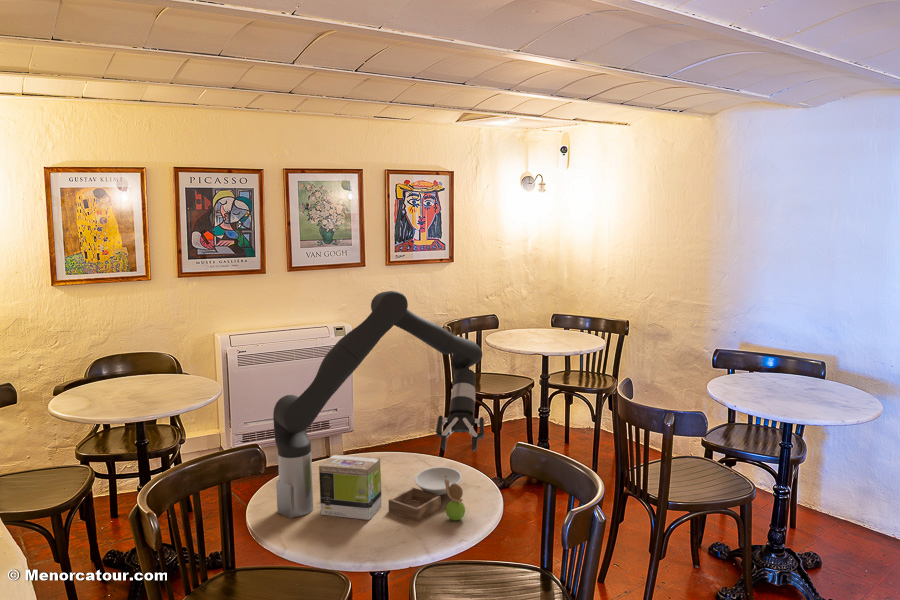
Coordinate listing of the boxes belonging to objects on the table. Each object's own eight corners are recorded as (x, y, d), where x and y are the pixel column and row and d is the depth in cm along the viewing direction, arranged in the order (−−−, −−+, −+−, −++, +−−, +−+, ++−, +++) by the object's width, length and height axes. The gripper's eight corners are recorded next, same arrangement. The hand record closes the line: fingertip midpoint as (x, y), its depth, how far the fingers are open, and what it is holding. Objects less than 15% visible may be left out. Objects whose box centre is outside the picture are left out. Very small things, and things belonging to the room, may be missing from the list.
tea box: (382, 506, 184) (381, 457, 183) (369, 521, 175) (367, 470, 173) (335, 500, 188) (333, 452, 187) (319, 515, 179) (317, 465, 177)
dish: (457, 507, 183) (456, 491, 182) (408, 504, 185) (408, 487, 185) (466, 483, 200) (466, 468, 199) (422, 480, 203) (421, 465, 202)
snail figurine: (451, 512, 180) (451, 471, 179) (469, 518, 176) (469, 477, 175) (439, 519, 176) (438, 477, 174) (457, 526, 172) (456, 483, 170)
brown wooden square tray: (417, 521, 174) (417, 509, 174) (388, 511, 181) (388, 499, 180) (440, 507, 183) (440, 496, 182) (412, 498, 189) (412, 487, 189)
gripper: (438, 394, 193) (433, 443, 183) (485, 395, 191) (482, 445, 181) (441, 406, 199) (436, 454, 189) (486, 407, 197) (483, 456, 187)
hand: (458, 450), depth 185 cm, fingers open, 8 cm apart
